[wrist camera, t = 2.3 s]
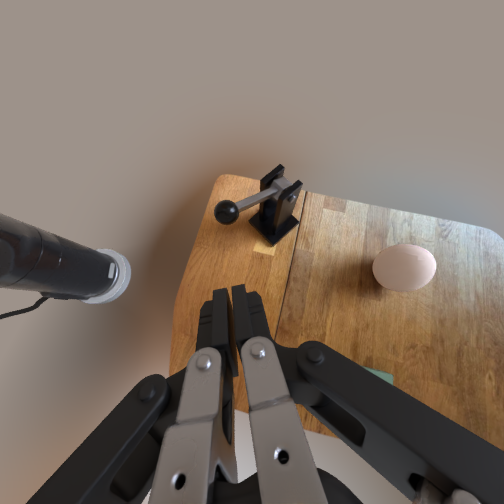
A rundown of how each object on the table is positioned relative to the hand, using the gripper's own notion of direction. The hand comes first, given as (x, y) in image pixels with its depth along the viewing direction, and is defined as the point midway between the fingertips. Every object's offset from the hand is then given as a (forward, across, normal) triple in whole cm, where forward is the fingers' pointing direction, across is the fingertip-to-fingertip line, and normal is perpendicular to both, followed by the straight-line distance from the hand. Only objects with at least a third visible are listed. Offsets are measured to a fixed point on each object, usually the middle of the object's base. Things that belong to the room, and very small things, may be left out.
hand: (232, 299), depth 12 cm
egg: (+24, -29, +22) cm, 44 cm away
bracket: (+35, -9, +11) cm, 38 cm away
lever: (+22, -4, +2) cm, 23 cm away
